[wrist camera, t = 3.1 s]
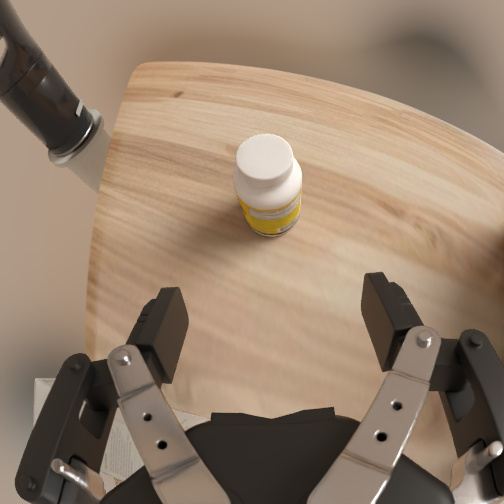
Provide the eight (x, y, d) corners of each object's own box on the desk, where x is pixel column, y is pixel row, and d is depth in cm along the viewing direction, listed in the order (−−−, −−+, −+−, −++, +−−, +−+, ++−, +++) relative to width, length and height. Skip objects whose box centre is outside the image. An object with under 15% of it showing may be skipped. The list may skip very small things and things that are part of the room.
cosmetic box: (185, 442, 16) (31, 374, 18) (175, 505, 14) (28, 431, 16) (210, 416, 24) (82, 372, 26) (200, 468, 22) (77, 420, 24)
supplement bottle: (249, 185, 30) (234, 123, 20) (302, 191, 29) (307, 128, 20) (239, 234, 28) (218, 184, 19) (296, 241, 27) (300, 192, 18)
